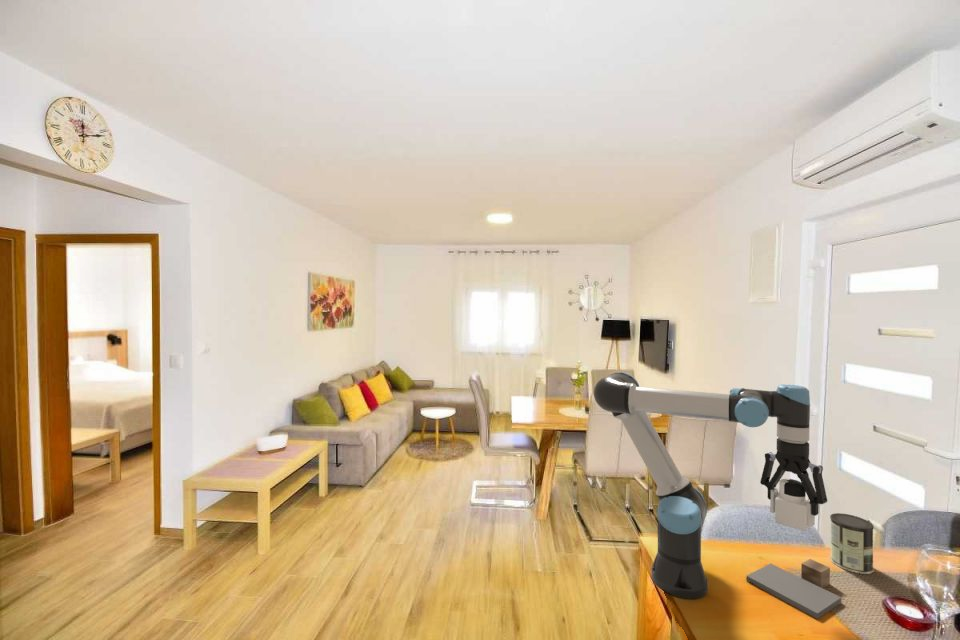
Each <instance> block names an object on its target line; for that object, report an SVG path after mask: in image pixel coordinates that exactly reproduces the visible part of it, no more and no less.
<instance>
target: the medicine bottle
mask: <svg viewBox="0 0 960 640" xmlns="http://www.w3.org/2000/svg"><path fill="white" fill-rule="evenodd" d="M778 484H779V485H778V486H779V488H778V495H777V497H776V499H775V512H774V522H775V524H778V525H782V526H785V527H789V528H793V529H797V530H800V531H802V532H806V531H807V529H808V526H807V502H809V501H810V500H809V498H808V497H806V495H807V493H806V491H805V489H804V487H803V485H802V483H801V481H799V480H797V479H792V478H781V479H780V481H779V482H778Z"/></svg>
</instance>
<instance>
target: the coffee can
mask: <svg viewBox="0 0 960 640" xmlns="http://www.w3.org/2000/svg"><path fill="white" fill-rule="evenodd" d="M829 517H830V560H831V562H832V563H833V564H834V565H836V566H837V567H839V568H841V569H843V570H845V571H848V572H851V573H854V572H855V574H859V573H860V574H859V575H871V574H872V573H874V528H875V527H874V524H873V523H872V522H870V521H869V520H867V519H864V518H861V517H859V516H857V515H851V514H848V513H839V512H838V513H832V514H830V515H829Z"/></svg>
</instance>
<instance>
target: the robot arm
mask: <svg viewBox="0 0 960 640" xmlns="http://www.w3.org/2000/svg"><path fill="white" fill-rule="evenodd" d="M809 390H810V389H808V388H807V387H805V386H802V385H801V386H800V385H795V384H779V385H778V386H777V387H776V390H761V389H760V390H759V389H752V388H744V387H741V388H738V387H737V388H735V387H733V388H730V389H729V393H715V392H705V391H694V390H693V391H691V390H683V389H681V390H680V389H670V388H669V389H667V388H659V387H658V388H657V387H644V386H640V383H639V382H638V381H637V379H636V378H635V377H634V376H633V375H631V374H630V373H627V372H614V373H611V374H610V375H609V374H608V375H607V376H604V377H603V378H600V380H598V381H597V382H596V384H595V386H594V388H593V398H594V400H595V402H596V404H597V405H598V406H599V407H600V408H601V409H602V410H604V411H607V412H609V413H611V414H612V415H613V417H614V418H615V419H618V420H620V421H621V423H622V425H623V427H624V428H625V430H626V431H627V434H628V435H629V437H630V439H631V441H632V443H633V445H634V446H635V448H636V450H637V452H638V454H639V456H640V458H641V460H642V461H643V463H644V465H645V467H646V469H647V470H648V472H649V474H650V476H651V477H652V480H653V481H654V484H655V485H656V491H655V495H656V497H657V498H658V500H659V501H658V504H657V509H656V516H657V552H656V555H655V558H654V560H653V562H652V565H651V570H650V571H651V573H650V574H651V577H650V578H651V580H652V582H653V583H654V584H655V586H656V587H657V588H659V589H660V590H661V591H663V592H665V593H666V594H669V595H671V596H673V597H677V598H681V599H686V600H687V599H688V600H696V599H700V598H703V597H704V596H706V595H707V593H708V591H709V590H708V589H709V586H708V585H709V584H708V583H709V582H708V578H707V576H706V574H705V570H704V567H703V563H702V531H703V527H704V525H705V524H704V523H705V520H706V516H707V511H708V510H707V509H708V507H707V503H706V500H705V497H704V496H703V494H702V493H701V492H700V491H699V490H698V489H697V488H696V487H694V486H693V484H692V482H691V480H690V479H689V478H687V477H684V476H682V474H681V472H680V471H679V468H678V467H677V466H676V463H675V462H674V460H673V458H672V457H671V455H670V453H669V451H668V450H667V447H666V446H665V444H664V442H663V440H662V439H661V437H660V435H659V434H658V431H657V430H656V428H655V426H654V425H653V423H652V421H651V420H650V418H649V415H648V414H647V413H650V414H660V415H666V416H667V415H668V416H678V417H685V418H686V417H687V418H695V419H704V420H714V421H715V420H716V421H723V422H730V423H731V422H733V423H739V424H742V425H743V426H746V427H749V428H759V427H761V426H763V425H764V424H765V423H766V422H767V420H768V418H769V417H770V418H776V437H777V438H776V453H773V452H767V453H765V454H764V458H765V459H764V460H765V462H764V466H763V469H762V474H761V478H760V484H761V486H762V485H763V486H765V487H766V488H767V499H768V500H770V506H769V507H770V513H773V514H775V499H776V497H777V495H778V493H779V488H776V487H777V485H778V484H779V481H780V480H781V479H782V477H783V476H784V475H785V473H786V472H789V473H792V474H795V475H796V476H797V478H798V479H799V480H800V482H801V483H802V485H803V487H804V489H805V491H806V495H807V498H809V502H807V528H810V527H813V526H815V525H816V524H815V523H816V522H815V519H816V518H815V517H816V516H818V515H819V513H820V509H819V507H820V506H819V505H824V504H827V503H828V497H827V492H826V488H825V483H824V478H823V470H824V467H823V466H822V465H820V464H819V465H816V464H814V463H811V461H810V443H809V441H810V420H811V418H810V415H811V403H810V400H811V399H810V397H811V396H810V391H809ZM776 460H777V462H778V464H779V465H778V466H777V468H776V470H775V472H774V474H773V475H772V472H773V468H774V464H775V461H776ZM807 469H810V472H811V473H812V474H811V475H812V479H813V483H812V481H811V479H810V476H809V475H810V474H809V472H808V470H807ZM771 476H772V477H771Z"/></svg>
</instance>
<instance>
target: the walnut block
mask: <svg viewBox="0 0 960 640" xmlns="http://www.w3.org/2000/svg"><path fill="white" fill-rule="evenodd" d="M800 567H801V569H800V570H801V574H800V576H801V577H800V578H802V579H804V580H806V581H808V582H810V583H812V584H814V585H817V586H819V587H821V588H823V589H825V588H826V587H827V586H828V585H830V584H831V582H830V581H831V575H830V574H831V568H830V566H828V565H825V564H822V563H820V562H818V561H816V560H814V559H811V558H809V559H807V560H805V561H802V563H801V566H800Z"/></svg>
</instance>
